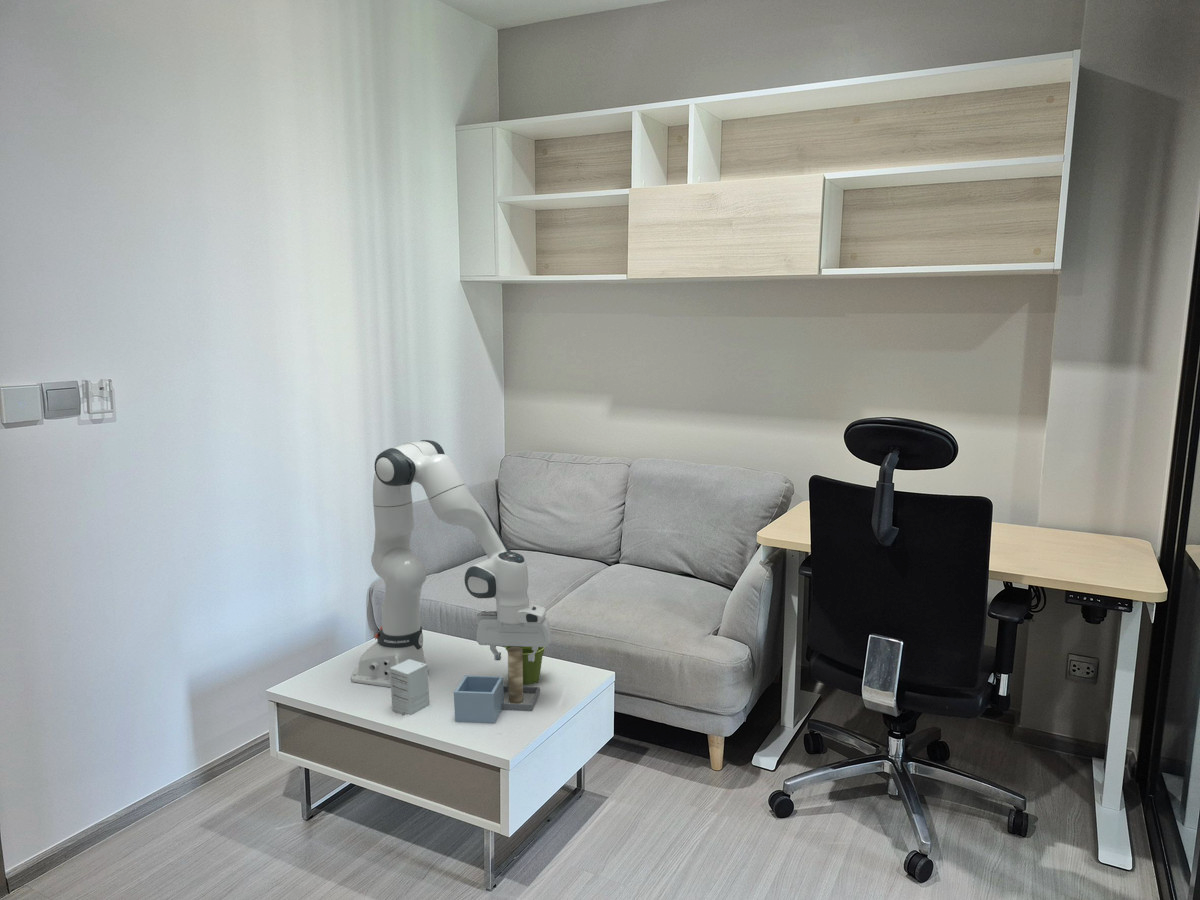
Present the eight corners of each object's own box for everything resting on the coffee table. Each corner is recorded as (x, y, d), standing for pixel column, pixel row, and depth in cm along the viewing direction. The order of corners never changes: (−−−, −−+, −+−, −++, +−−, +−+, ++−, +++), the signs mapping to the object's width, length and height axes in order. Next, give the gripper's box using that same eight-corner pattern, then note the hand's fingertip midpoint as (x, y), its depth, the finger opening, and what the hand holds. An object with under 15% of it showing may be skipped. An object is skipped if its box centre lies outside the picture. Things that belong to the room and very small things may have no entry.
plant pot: (498, 686, 242) (497, 649, 241) (521, 670, 253) (519, 635, 251) (533, 694, 237) (532, 656, 235) (554, 678, 247) (553, 641, 245)
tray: (491, 712, 226) (490, 703, 226) (501, 693, 237) (500, 685, 237) (531, 713, 225) (531, 705, 224) (540, 695, 236) (539, 687, 235)
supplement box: (411, 701, 234) (409, 658, 232) (430, 707, 230) (428, 664, 228) (391, 711, 228) (388, 667, 226) (410, 718, 224) (407, 673, 222)
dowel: (507, 704, 229) (506, 651, 227) (510, 697, 233) (509, 646, 231) (521, 704, 229) (520, 652, 227) (524, 698, 233) (523, 647, 230)
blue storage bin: (455, 724, 220) (453, 692, 218) (466, 706, 230) (465, 675, 229) (494, 726, 218) (493, 693, 217) (504, 707, 229) (503, 676, 227)
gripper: (472, 614, 225) (474, 663, 227) (547, 617, 223) (548, 666, 225) (478, 606, 231) (480, 654, 233) (551, 609, 229) (552, 657, 231)
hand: (514, 660), depth 229 cm, fingers open, 8 cm apart
